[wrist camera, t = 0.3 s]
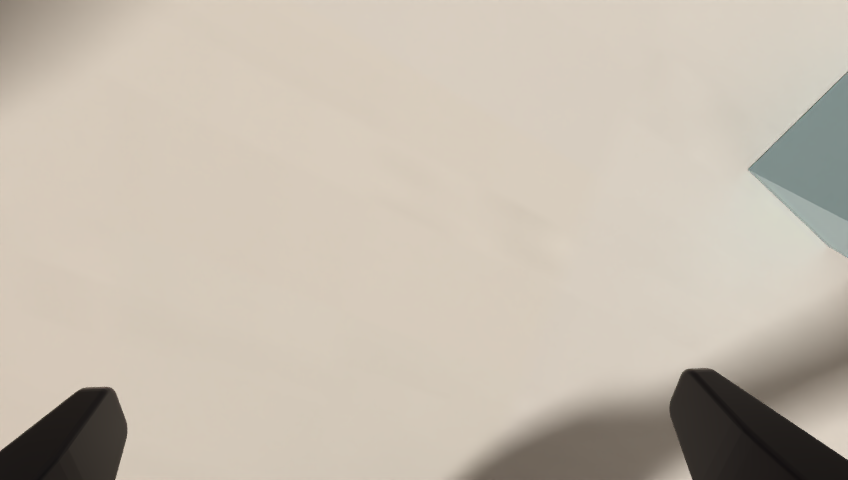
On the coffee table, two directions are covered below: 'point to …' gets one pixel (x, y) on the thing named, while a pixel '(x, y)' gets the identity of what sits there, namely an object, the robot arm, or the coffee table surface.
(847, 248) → the grey-blue block
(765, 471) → the robot arm
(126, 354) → the coffee table surface
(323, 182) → the coffee table surface
